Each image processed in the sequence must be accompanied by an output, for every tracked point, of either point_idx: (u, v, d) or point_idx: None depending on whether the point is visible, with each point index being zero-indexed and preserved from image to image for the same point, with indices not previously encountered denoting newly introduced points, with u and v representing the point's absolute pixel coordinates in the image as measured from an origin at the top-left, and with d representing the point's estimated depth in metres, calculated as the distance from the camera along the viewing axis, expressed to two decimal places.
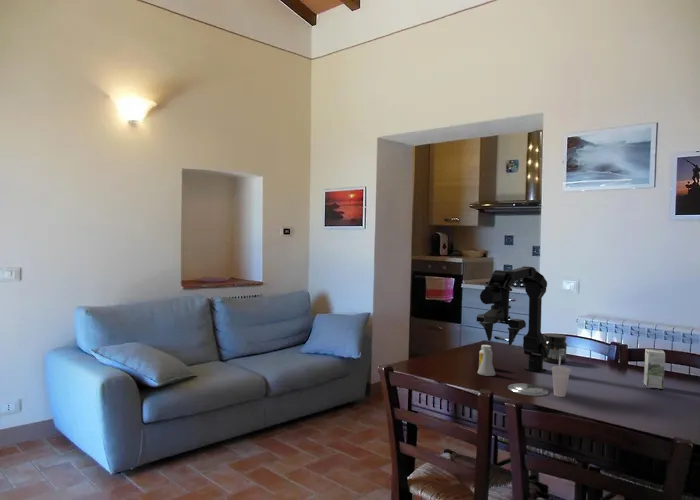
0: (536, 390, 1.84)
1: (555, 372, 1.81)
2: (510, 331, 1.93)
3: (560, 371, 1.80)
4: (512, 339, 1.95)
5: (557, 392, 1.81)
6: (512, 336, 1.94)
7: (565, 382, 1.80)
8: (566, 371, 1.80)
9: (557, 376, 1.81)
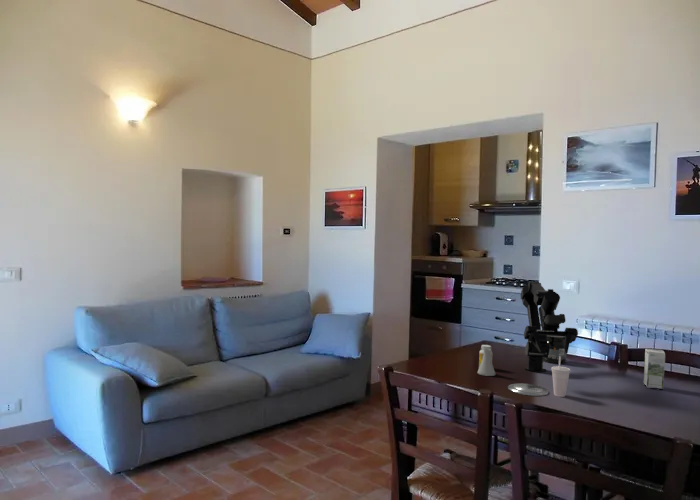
0: (536, 390, 1.84)
1: (555, 372, 1.81)
2: (568, 338, 1.93)
3: (560, 371, 1.80)
4: None
5: (557, 392, 1.81)
6: None
7: (565, 382, 1.80)
8: (566, 371, 1.80)
9: (557, 376, 1.81)
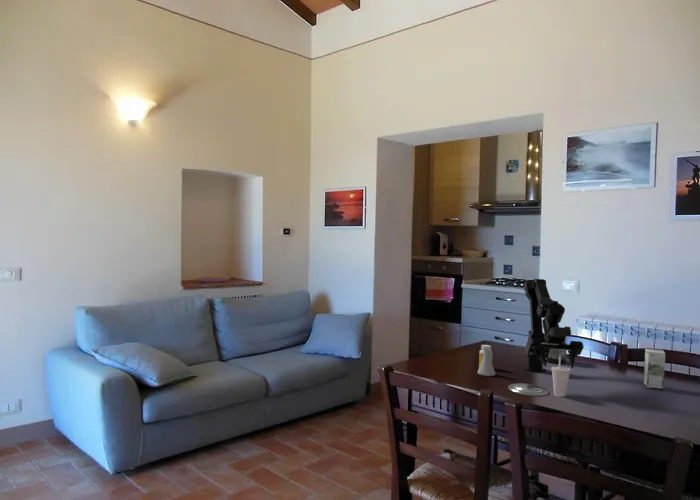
0: (536, 390, 1.84)
1: (555, 372, 1.81)
2: (573, 351, 1.86)
3: (560, 371, 1.80)
4: (573, 362, 1.86)
5: (557, 392, 1.81)
6: None
7: (565, 382, 1.80)
8: (566, 371, 1.80)
9: (557, 376, 1.81)
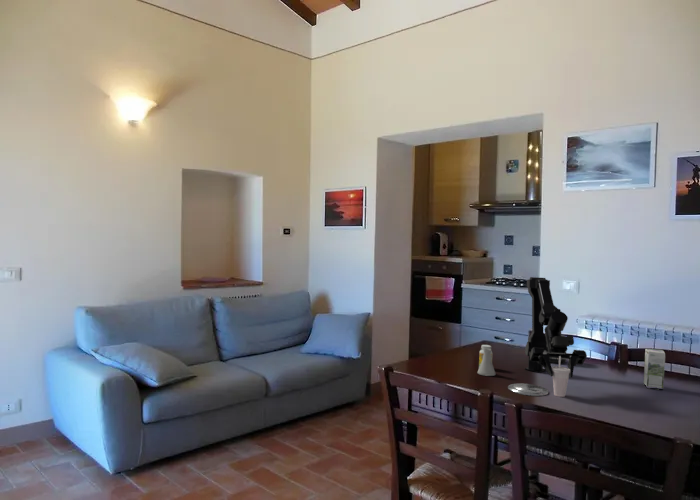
0: (536, 390, 1.84)
1: (555, 372, 1.81)
2: (573, 360, 1.83)
3: (560, 371, 1.80)
4: (572, 371, 1.82)
5: (557, 392, 1.81)
6: None
7: (565, 382, 1.80)
8: (566, 371, 1.80)
9: (557, 376, 1.81)
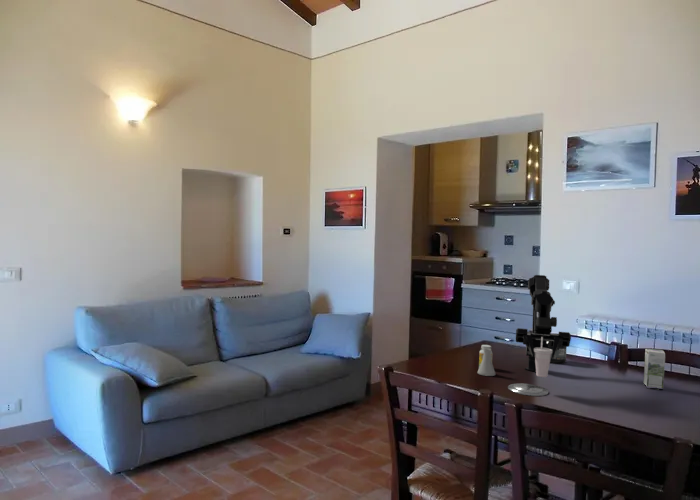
0: (536, 390, 1.84)
1: (536, 352, 1.84)
2: (556, 342, 1.85)
3: (540, 351, 1.82)
4: (555, 352, 1.84)
5: (538, 372, 1.84)
6: (556, 349, 1.84)
7: (546, 362, 1.83)
8: (547, 352, 1.82)
9: (538, 357, 1.83)
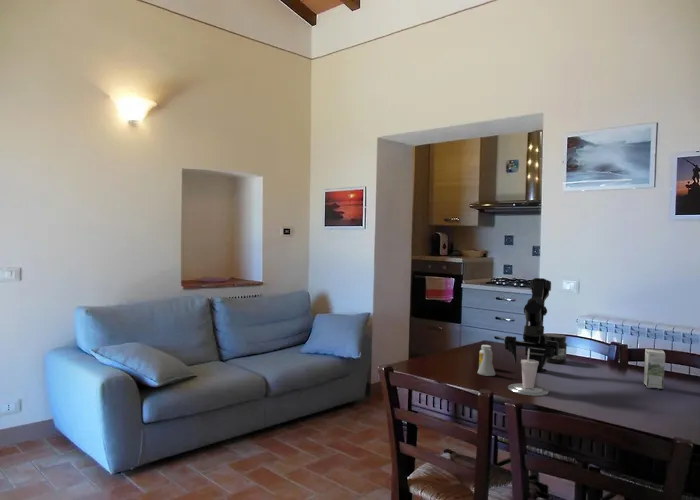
0: (536, 390, 1.84)
1: (522, 363, 1.87)
2: (546, 351, 1.86)
3: (526, 363, 1.85)
4: (545, 361, 1.85)
5: (524, 383, 1.87)
6: (546, 358, 1.86)
7: (531, 374, 1.85)
8: (532, 363, 1.85)
9: (523, 368, 1.86)
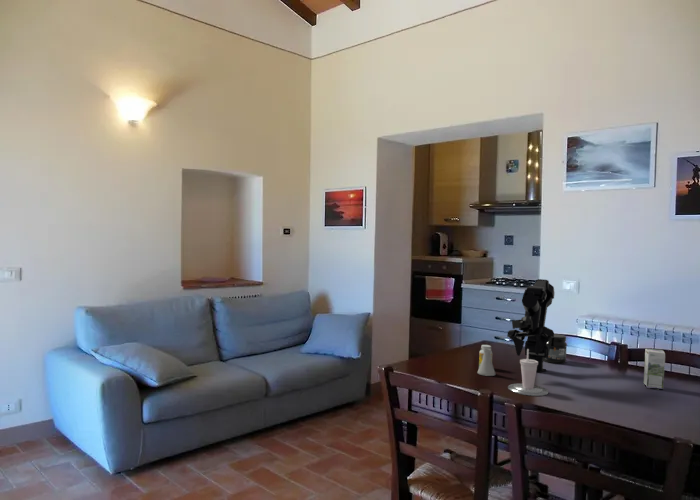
0: (536, 390, 1.84)
1: (521, 364, 1.87)
2: (537, 338, 1.95)
3: (525, 363, 1.85)
4: (539, 348, 1.94)
5: (524, 383, 1.87)
6: (539, 344, 1.94)
7: (531, 374, 1.85)
8: (531, 364, 1.84)
9: (523, 368, 1.86)
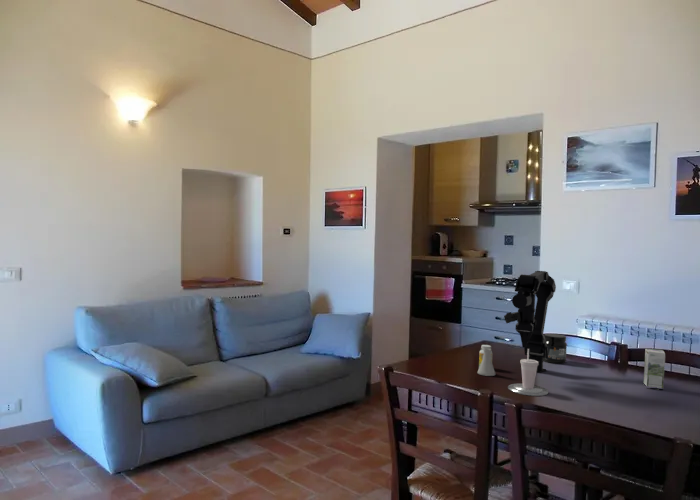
0: (536, 390, 1.84)
1: (522, 364, 1.87)
2: (519, 333, 1.99)
3: (526, 363, 1.85)
4: (524, 342, 1.99)
5: (524, 383, 1.87)
6: (523, 338, 1.99)
7: (531, 374, 1.85)
8: (532, 364, 1.85)
9: (523, 368, 1.86)
